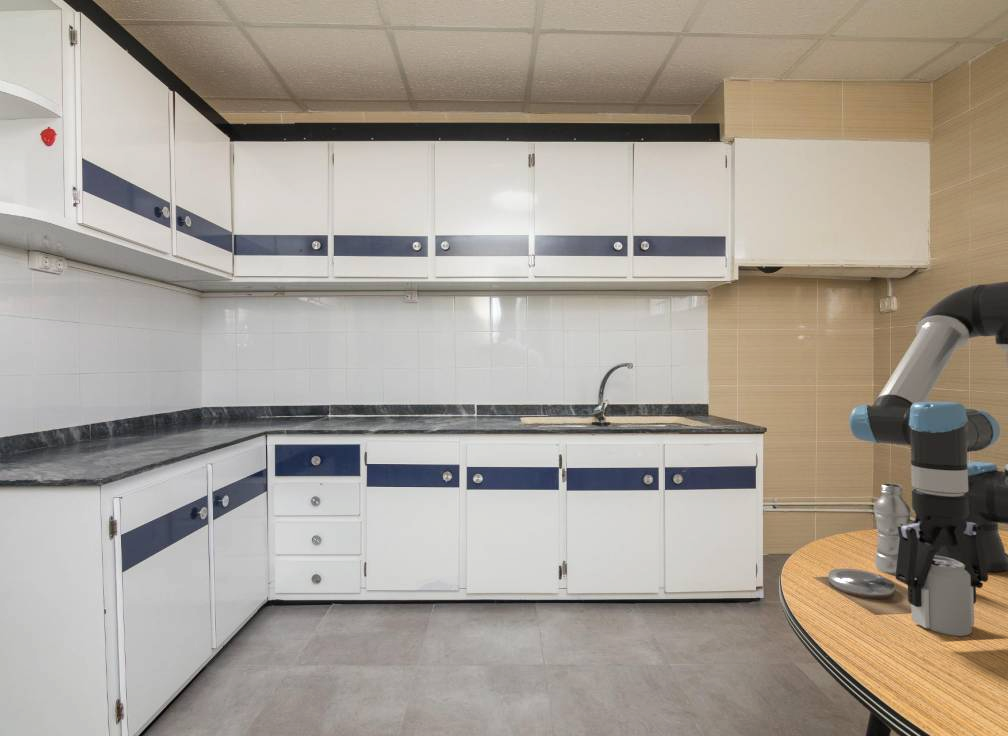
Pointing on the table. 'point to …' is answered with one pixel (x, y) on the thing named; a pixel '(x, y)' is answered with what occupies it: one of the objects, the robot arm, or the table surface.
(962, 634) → the can
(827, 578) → the board
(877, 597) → the grey hollow ring
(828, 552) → the table surface
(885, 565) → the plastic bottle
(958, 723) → the table surface
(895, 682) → the table surface
